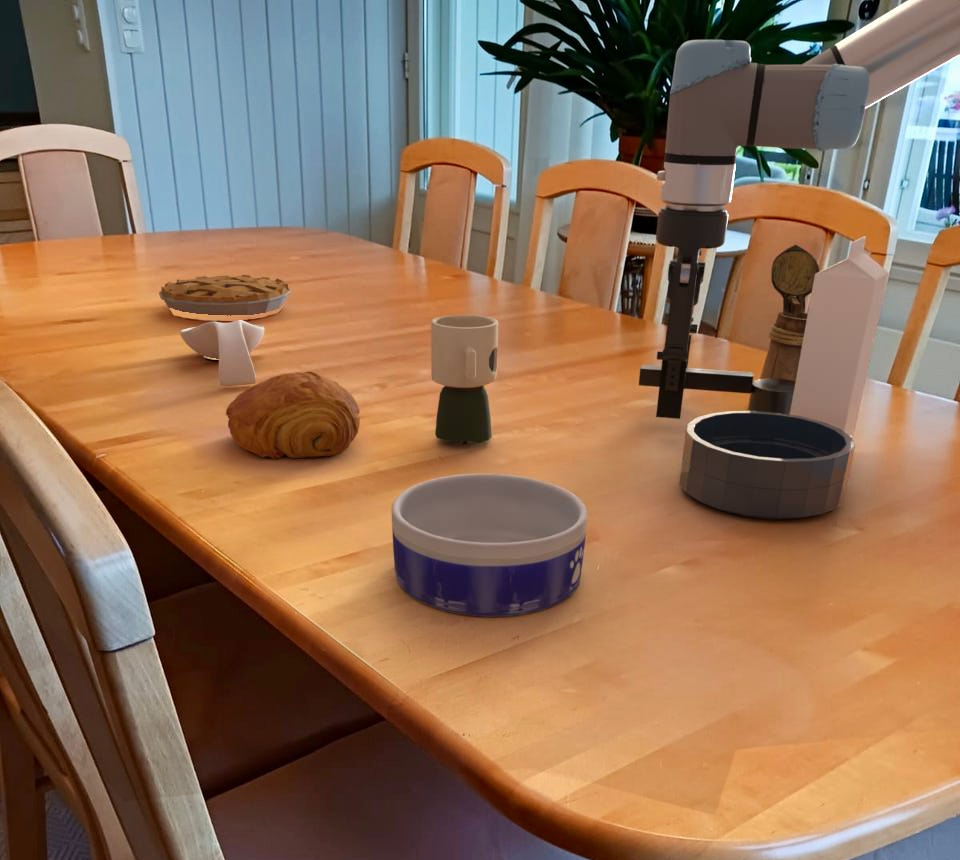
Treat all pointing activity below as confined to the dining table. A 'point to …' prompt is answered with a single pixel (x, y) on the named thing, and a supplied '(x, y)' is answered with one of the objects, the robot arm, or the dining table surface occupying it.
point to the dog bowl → (488, 543)
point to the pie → (225, 295)
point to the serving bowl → (766, 464)
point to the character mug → (464, 375)
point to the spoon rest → (227, 348)
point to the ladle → (732, 386)
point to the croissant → (294, 417)
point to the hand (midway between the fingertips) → (671, 402)
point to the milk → (839, 340)
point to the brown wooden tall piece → (789, 312)
